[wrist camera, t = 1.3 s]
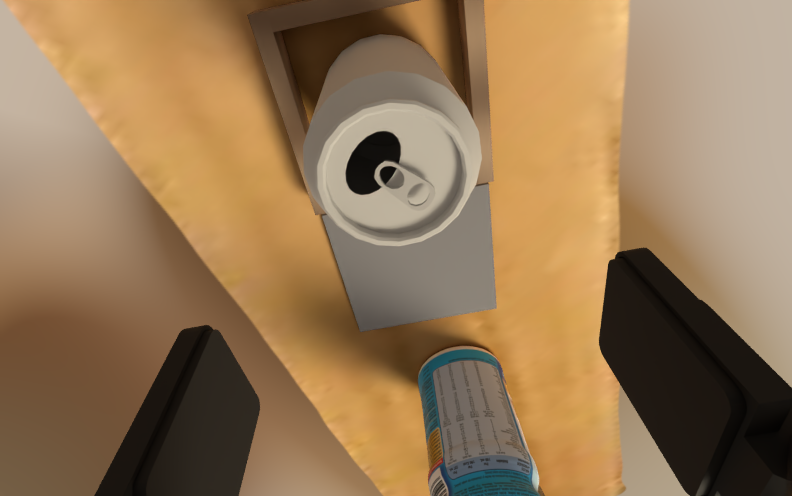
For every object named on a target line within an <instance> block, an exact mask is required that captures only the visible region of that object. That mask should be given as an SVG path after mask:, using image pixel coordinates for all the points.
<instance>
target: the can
mask: <svg viewBox="0 0 792 496" xmlns="http://www.w3.org/2000/svg"><path fill="white" fill-rule="evenodd" d="M481 160H482V154H481V146H480V137H479V131H478V129H477V127H476V125H475V123H474V121H473V119H472V117H471V115H470V113H469V110H468V108H467V106H466V105H465V104H464V102H463V101H462V99H461V98H460V96H459V95H458V93H457V92H456V90H455V89H454V87H453V86H452V84H451V83H450V81H449V80H448V78H447V77H446V75H445V74H444V73H443V71H442V70H441V68H440V67H439V65H438V64H437V62H436V61H435V59H434V58H433V57H432V56H431V55H430V54H429V53H428V52H427V51H426V50H425V49H424V48H422V47H421V46H420V45H419V44H417V43H415V42H413V41H410V40H408V39H406V38H404V37H402V36H396V35H385V34H378V35H374V36H370V37H366V38H362V39H359V40H358V41H356V42H355V43H353V44H352V45H350V46H349V47H347V48H346V49H344V50H343V51H342V52H341V53H340V54H339V56H338V57H337V59H336V60H335V61H334V63H333V64H332V65H331V67H330V68H329V71H328V74H327V77H326V79H325V82H324V85H323V88H322V91H321V94H320V97H319V100H318V102H317V105H316V108H315V111H314V114H313V117H312V120H311V123H310V126H309V129H308V132H307V135H306V138H305V142H304V145H303V161H304V175H305V177H306V180H307V183H308V185H309V188H310V190H311V193H312V196H313V198H314V199H315V200H316V202H317V203H318V204H319V205H320V207H321V208H322V209H323V210H324V211H325V213H326V214H327V215H328V216H329V217H330V218H331V219H332V220H333V221H334V222H335V224H336V225H337V226H338V227H340V228H341V229H343V230H344V231H346V232H347V233H349V234H350V235H352V236H353V237H355V238H356V239H359V240H363V241H366V242H369V243H372V244H375V245H384V246H403V245H408V244H412V243H417V242H421V241H424V240H425V239H427V238H429V237H431V236H433V235H435V234H437V233H439V232H441V231H442V230H443V229H445V228H446V227H447V226H448V225H449V224H450V223H451V222H452V221H453V220H454V219H455V218H456V217H457V216H458V215H459V214H460V212H461V210H462V208H463V207H464V205H465V203H466V201H467V200H468V198H469V196H470V194H471V192H472V190H473V189H474V187H475V185H476V183H477V179H478V174H479V170H480V165H481Z"/></svg>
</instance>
